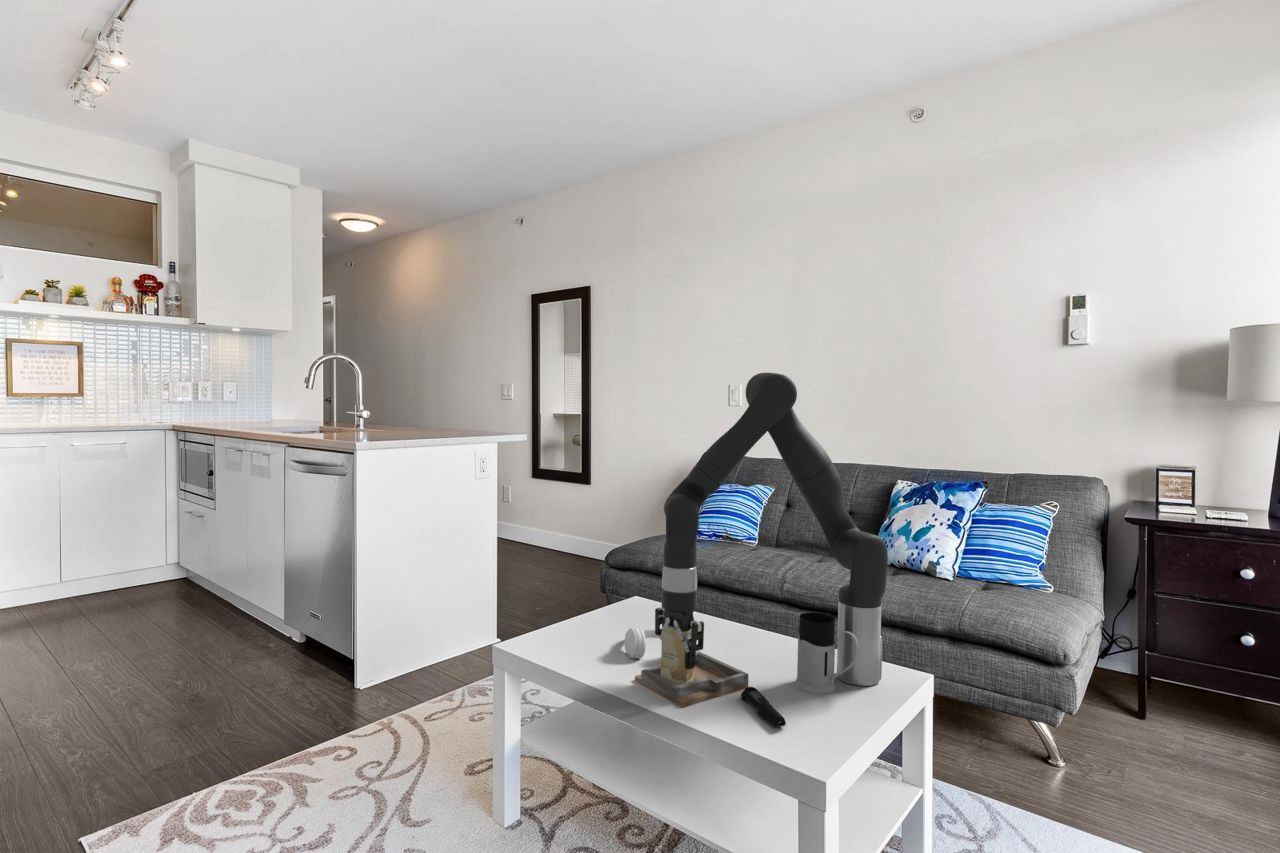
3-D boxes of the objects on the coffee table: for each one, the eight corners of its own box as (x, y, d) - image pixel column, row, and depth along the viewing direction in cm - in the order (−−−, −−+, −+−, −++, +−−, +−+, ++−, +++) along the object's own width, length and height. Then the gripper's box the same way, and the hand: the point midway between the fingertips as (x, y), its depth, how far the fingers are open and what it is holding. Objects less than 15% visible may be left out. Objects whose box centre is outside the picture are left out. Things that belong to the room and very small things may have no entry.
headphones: (693, 634, 156) (700, 623, 176) (616, 628, 159) (632, 617, 179) (692, 666, 155) (699, 651, 175) (615, 660, 158) (630, 645, 178)
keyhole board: (698, 663, 158) (698, 651, 158) (748, 687, 145) (748, 673, 145) (635, 680, 147) (635, 666, 147) (682, 707, 134) (682, 692, 134)
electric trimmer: (771, 734, 124) (772, 717, 124) (739, 699, 139) (739, 684, 139) (790, 732, 125) (790, 716, 125) (755, 697, 140) (756, 682, 140)
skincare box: (659, 683, 143) (660, 627, 143) (668, 677, 147) (669, 621, 147) (687, 690, 140) (688, 632, 140) (695, 682, 144) (696, 626, 144)
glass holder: (809, 674, 153) (811, 609, 153) (866, 694, 142) (868, 624, 142) (786, 684, 147) (788, 616, 147) (844, 705, 137) (846, 632, 136)
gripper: (715, 591, 140) (713, 669, 140) (672, 577, 151) (670, 649, 152) (687, 596, 135) (685, 677, 136) (645, 581, 147) (644, 656, 147)
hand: (677, 662), depth 144 cm, fingers closed on skincare box, 7 cm apart
